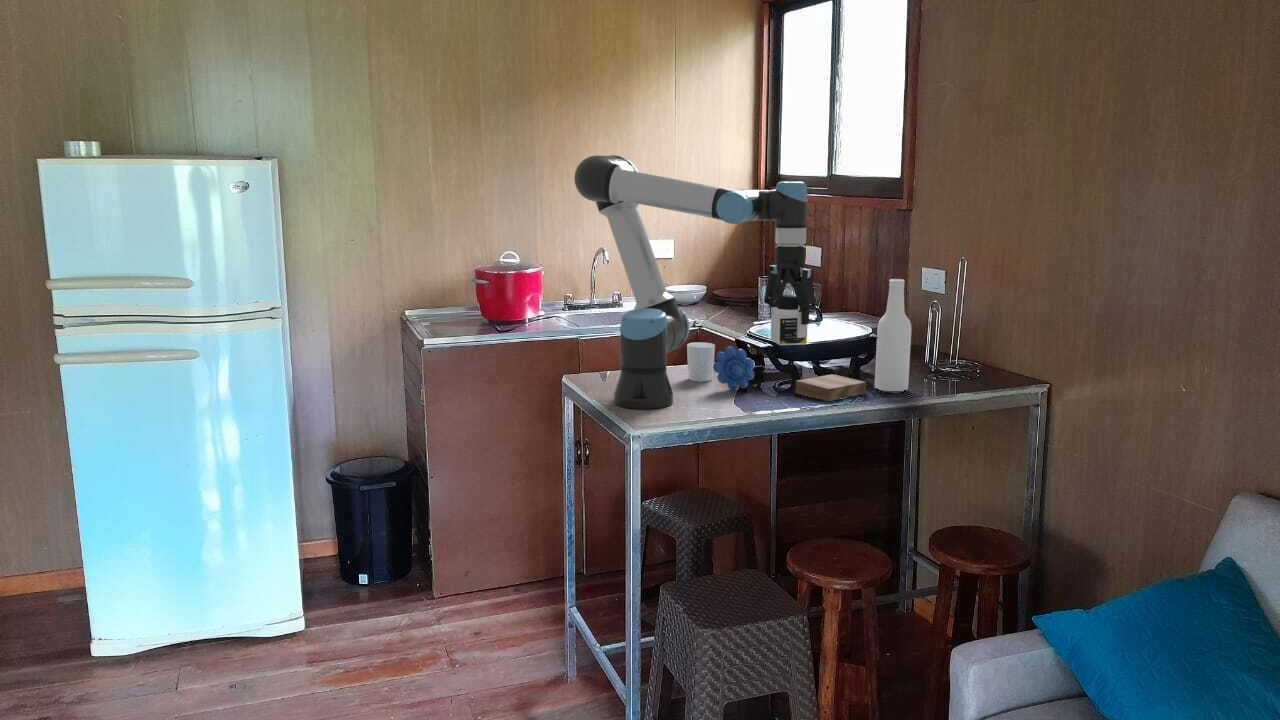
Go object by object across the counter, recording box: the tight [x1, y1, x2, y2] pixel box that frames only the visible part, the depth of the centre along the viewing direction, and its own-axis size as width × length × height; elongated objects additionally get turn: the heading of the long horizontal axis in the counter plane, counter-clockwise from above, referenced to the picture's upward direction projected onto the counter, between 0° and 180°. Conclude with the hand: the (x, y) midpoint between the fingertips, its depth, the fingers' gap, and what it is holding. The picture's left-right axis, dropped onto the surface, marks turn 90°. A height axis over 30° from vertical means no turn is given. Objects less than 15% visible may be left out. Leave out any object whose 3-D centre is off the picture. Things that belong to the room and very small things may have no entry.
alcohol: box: [874, 278, 913, 391], centre depth 255 cm, size 9×9×30 cm
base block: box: [795, 373, 867, 401], centre depth 252 cm, size 14×12×4 cm
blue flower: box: [713, 345, 756, 390], centre depth 256 cm, size 12×7×12 cm, turn 101°
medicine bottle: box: [770, 294, 808, 346], centre depth 239 cm, size 7×7×12 cm
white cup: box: [686, 341, 716, 383], centre depth 270 cm, size 8×8×10 cm
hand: (788, 334), depth 240 cm, fingers closed on medicine bottle, 9 cm apart
